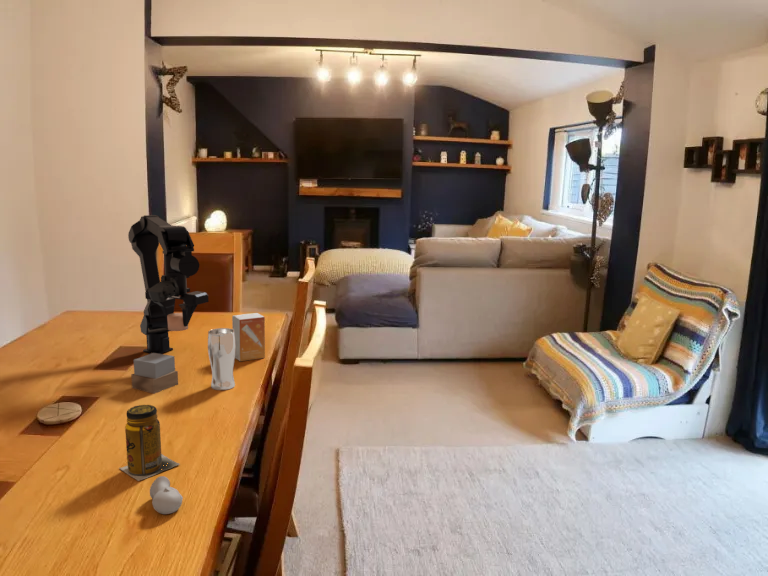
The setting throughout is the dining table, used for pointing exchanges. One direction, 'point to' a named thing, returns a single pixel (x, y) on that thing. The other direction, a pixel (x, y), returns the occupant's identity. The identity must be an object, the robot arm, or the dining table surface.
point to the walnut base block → (154, 382)
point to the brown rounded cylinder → (176, 322)
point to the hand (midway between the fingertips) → (177, 325)
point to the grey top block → (154, 365)
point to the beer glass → (222, 357)
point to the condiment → (144, 443)
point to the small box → (249, 336)
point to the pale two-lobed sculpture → (165, 496)
